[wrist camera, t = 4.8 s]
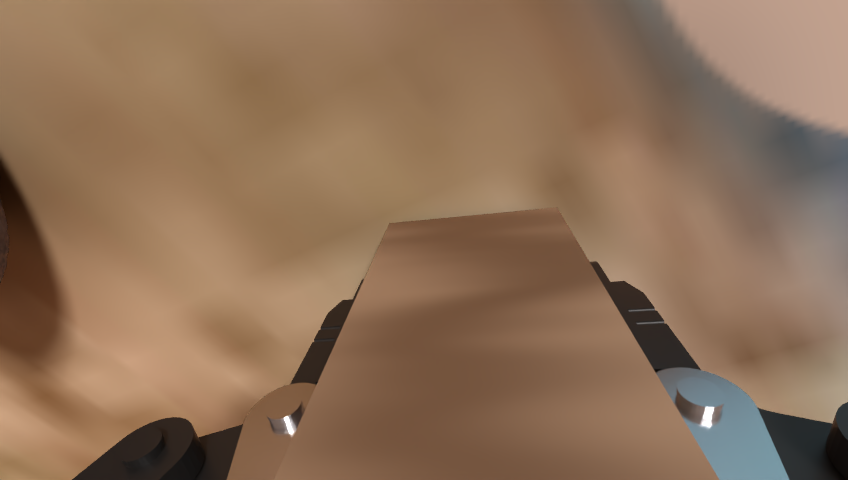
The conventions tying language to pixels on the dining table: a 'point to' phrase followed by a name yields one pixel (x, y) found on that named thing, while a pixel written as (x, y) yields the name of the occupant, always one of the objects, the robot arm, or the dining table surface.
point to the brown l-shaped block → (488, 367)
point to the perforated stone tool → (3, 241)
